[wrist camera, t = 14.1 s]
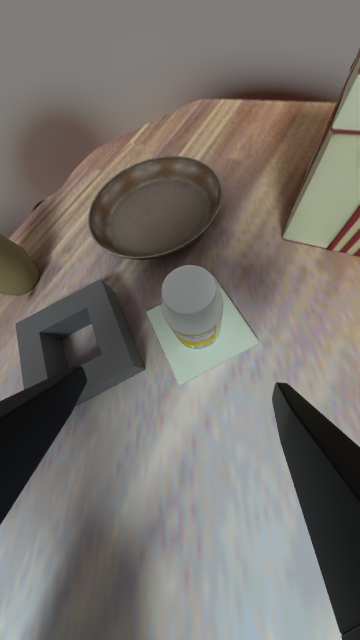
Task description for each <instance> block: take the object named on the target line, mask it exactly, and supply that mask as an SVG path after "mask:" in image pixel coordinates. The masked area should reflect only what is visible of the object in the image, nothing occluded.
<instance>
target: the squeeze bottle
mask: <svg viewBox="0 0 360 640" xmlns="http://www.w3.org/2000/svg"><path fill="white" fill-rule="evenodd" d="M38 278H39V270H38V268H37V266H36V265H35V264H34V262H33V261H32V260H31V258H30V257H29V256H28V254H27V253H26V252H25V250H24V249H23V248H22V247H20V246H19V245H17V244H15V243H14V242H12V241H11V240H9V239H7V238H5V237H4V236H2V235H1V234H0V293H1V294H8V295H17V296H19V295H22V294H25V293H27V292H28V291H29V290H31V289H32V288H33V287H34V285H35V284H36V283H37V281H38Z"/></svg>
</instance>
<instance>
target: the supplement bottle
mask: <svg viewBox="0 0 360 640" xmlns="http://www.w3.org/2000/svg"><path fill="white" fill-rule="evenodd" d="M161 292H162V298H163V301H162V313H163V316H164V319H165V321H166V322H167V324H168V325H169V327H170V328H171V330H172V331H173V332H174V334H175V335H176V337H177V338H178V340H179V341H180V342H181V343H182V344H183V345H184V346H186V347H188V348H191V349H204V348H207V347H209V346H210V345H212V344H213V343H214V342H215V341H216V339H217V338H218V336H219V333H220V327H221V320H222V314H223V298H222V295H221V293H220V291H219V289H218V288H217V287H216V283H215V280H214V278H213V276H212V275H211V273H209V271H207V270H206V269H204V268H202V267H200V266H196V265H185V266H181V267H178V268H176V269H174V270H173V271H172V272H170V273H169V274H168V275H167V277H166V278H165V280H164V282H163V284H162V291H161Z"/></svg>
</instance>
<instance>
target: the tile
mask: <svg viewBox="0 0 360 640" xmlns="http://www.w3.org/2000/svg"><path fill="white" fill-rule="evenodd" d="M213 278H214V280H215V283H216V287H217V288H218V289H219V291H220V293H221V295H222V298H223V314H222V320H221V327H220V333H219V336H218V338H217V339H216V341H215V342H214V343H213V344H212V345H210V346H209V347H207V348H204V349H191V348H188V347H186V346H184V345H183V344H182V343H181V342H180V341H179V340H178V338H177V337H176V335H175V334H174V332H173V331H172V330H171V328H170V327H169V325H168V324H167V322H166V321H165V319H164V316H163V313H162V304H160V305H158V306H156V307H154V308H153V309H151V310H149V311H147V312H146V313H147V315H148V318H149V320H150V322H151V324H152V326H153V329H154V331H155V333H156V335H157V337H158V340H159V342H160V344H161V346H162V348H163V350H164V353H165V355H166V357H167V359H168V361H169V364H170V366H171V368H172V370H173V372H174V374H175V377H176V379H177V381H178V383H179V385H182V384H184V383H186V382H188V381H189V380H191V379H193V378H195V377H197V376H199V375H201V374H203V373H205V372H206V371H208V370H210V369H212V368H214V367H216V366H218V365H220V364H221V363H223V362H225V361H227V360H229V359H231V358H233V357H235V356H237V355H238V354H240V353H242V352H244V351H246V350H248V349H250V348H252V347H254V346H255V345H257V344H259V341H258V340H257V338H256V337H255V335H254V334H253V332H252V331H251V329H250V328H249V327H248V325H247V324H246V322H245V321H244V319H243V318H242V316H241V315H240V313H239V312H238V311H237V309H236V308H235V306H234V305H233V303H232V302H231V300H230V299H229V297H228V296H227V295H226V293H225V292H224V290H223V289H222V287H221V286H220V284H219V283H218V281H217V280H216V279H215V277H213Z"/></svg>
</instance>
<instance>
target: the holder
mask: <svg viewBox="0 0 360 640" xmlns="http://www.w3.org/2000/svg"><path fill="white" fill-rule="evenodd" d="M91 323H92V326H93V329H94V332H95V335H96V338H97V342H98V345H99V348H100V351H101V354H102V355H100V356H98V357H96V358H94V359H92V360H91V361H89V362H87V363H85V364H83V365H81V367H83V368H84V371H85V374H86V377H87V384H86V386H85V388H84V390H83V392H82V394H81V396H80V397H79V399H78V401H77V403H76V405H75V406H77V405H79V404H80V403H82V402H84V401H86V400H88V399H90V398H92V397H94V396H96V395H98V394H99V393H101V392H103V391H105V390H107V389H109V388H111V387H113V386H115V385H116V384H118V383H120V382H122V381H124V380H126V379H128V378H130V377H132V376H134V375H135V374H137V373H139V372H141V371H143V370H145V367H144V365H143V362H142V360H141V357H140V355H139V352H138V350H137V347H136V345H135V342H134V340H133V337H132V335H131V332H130V330H129V327H128V325H127V322H126V320H125V317H124V315H123V312H122V310H121V307H120V305H119V302H118V300H117V297H116V295H115V292H114V291H113V290H112V289H111V288H109V287H108V286H107V285H106V284H105V283H104V282H103V281H102V280H99V281H97V282H95V283H93V284H91V285H89V286H87V287H85V288H83V289H81V290H80V291H78V292H76V293H74V294H72V295H70V296H68V297H66V298H64V299H62V300H60V301H58V302H56V303H54V304H53V305H51V306H49V307H47V308H45V309H43V310H41V311H39V312H37V313H35V314H33V315H31V316H29V317H27V318H26V319H24V320H22V321H20V322H18V323H16V331H17V339H18V346H19V354H20V362H21V370H22V377H23V385H24V390H25V389H27V388H29V387H31V386H33V385H35V384H37V383H40V382H42V381H44V380H46V379H48V378H50V377H52V376H54V375H56V374H58V373H60V372H62V371H65V370H67V369H68V366H67V362H66V358H65V353H64V349H63V345H62V341H61V339H62V338H64V337H66V336H68V335H70V334H72V333H74V332H76V331H78V330H80V329H82V328H83V327H85V326H87V325H89V324H91Z"/></svg>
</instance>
